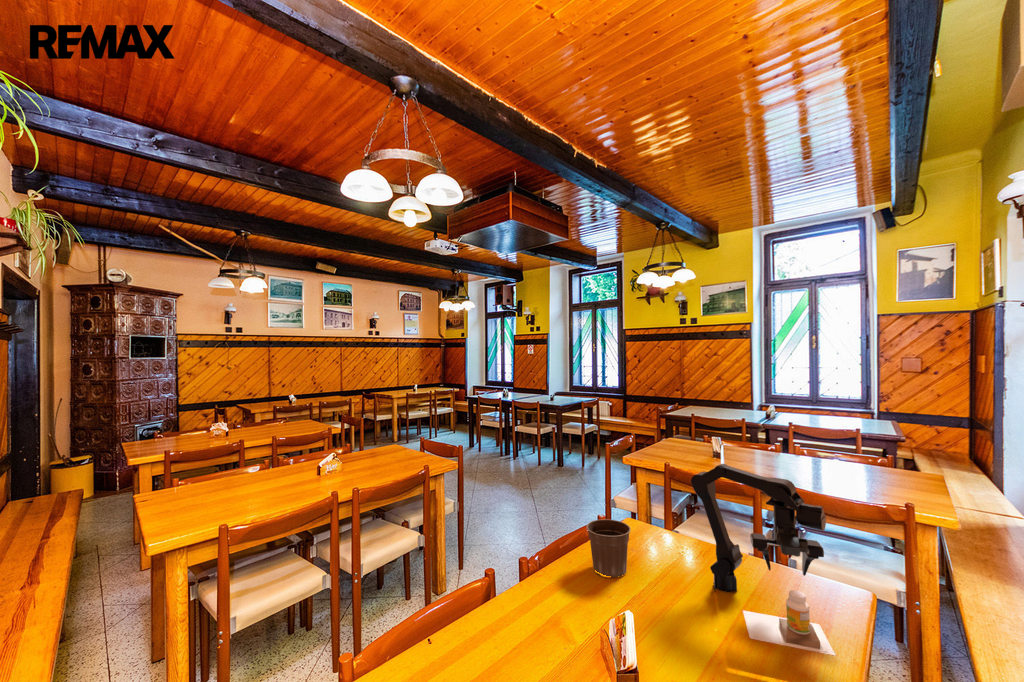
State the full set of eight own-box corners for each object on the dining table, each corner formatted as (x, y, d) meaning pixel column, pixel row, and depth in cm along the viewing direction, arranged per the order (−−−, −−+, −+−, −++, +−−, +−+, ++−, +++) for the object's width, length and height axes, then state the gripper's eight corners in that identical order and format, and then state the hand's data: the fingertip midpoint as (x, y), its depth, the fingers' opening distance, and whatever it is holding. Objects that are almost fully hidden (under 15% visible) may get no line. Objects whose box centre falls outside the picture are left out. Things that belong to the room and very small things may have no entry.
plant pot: (580, 574, 157) (579, 530, 157) (596, 556, 170) (595, 516, 171) (624, 586, 148) (623, 539, 149) (636, 566, 162) (635, 523, 162)
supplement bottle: (782, 623, 122) (781, 589, 122) (800, 622, 122) (798, 588, 123) (796, 636, 117) (795, 599, 117) (814, 634, 117) (813, 598, 117)
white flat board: (749, 641, 119) (749, 637, 119) (742, 612, 132) (742, 610, 132) (836, 658, 112) (835, 655, 112) (819, 627, 125) (819, 623, 125)
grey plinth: (785, 642, 117) (785, 634, 117) (779, 625, 124) (779, 618, 125) (820, 649, 114) (820, 641, 114) (811, 631, 122) (811, 624, 122)
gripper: (755, 527, 128) (756, 579, 128) (829, 535, 122) (831, 591, 121) (749, 514, 139) (750, 563, 138) (817, 521, 132) (819, 572, 131)
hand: (786, 572), depth 132 cm, fingers open, 9 cm apart
